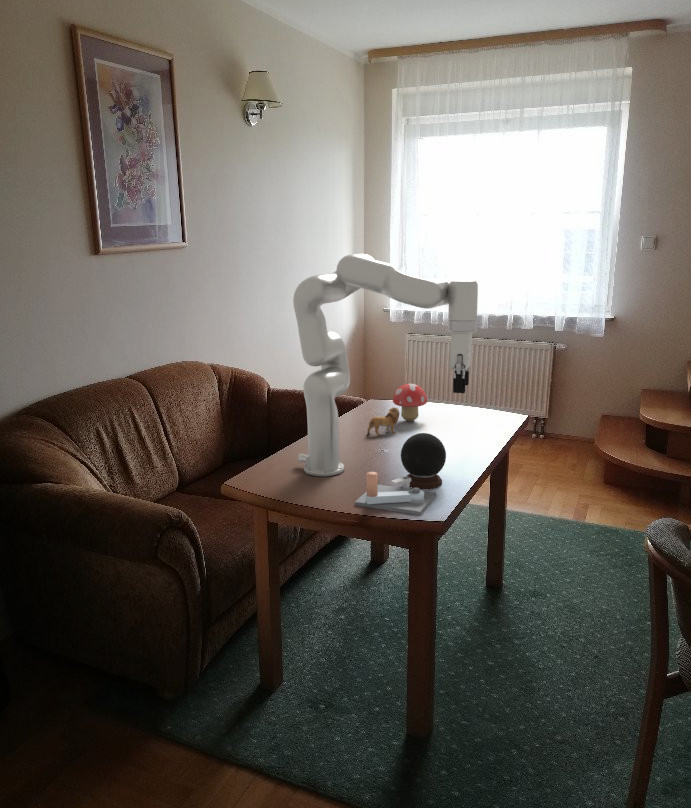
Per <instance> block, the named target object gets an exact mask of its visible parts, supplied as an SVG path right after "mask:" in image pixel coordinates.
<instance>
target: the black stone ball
mask: <svg viewBox="0 0 691 808" xmlns="http://www.w3.org/2000/svg"><path fill="white" fill-rule="evenodd" d="M400 459H401V460H400V461H401V464H402V466H403V468H404V469H405V471H406V472H407V473H408V474H407V475H406V476H407V477H410V478H411V482H410V487H412V488H420V490H421V489H428V490H434V488H435V489H438V488H440V487H441V486H442V485H443V480H442V478H441V476H440V475H439V473H440V472H441V471H442V470H443V467H444V466H445V464H446V460H447V451H446V449H445V445H444V444H443V442H442V440H441V439H439V438H438V437H437V436H435V435H433V434H431V433H428V432H427V433H426V432H420V433H415V434H412V435H411V436H410V437H409V438H407V439H406V440H405V442H403V445H402V448H401V451H400ZM439 486H440V487H439ZM437 487H438V488H437ZM412 488H411V489H412Z"/></svg>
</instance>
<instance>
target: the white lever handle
mask: <svg viewBox="0 0 691 808" xmlns="http://www.w3.org/2000/svg"><path fill="white" fill-rule="evenodd" d="M378 475H379V474H378V472H376V471H368V472H366V473H365V476H366V479H365V481H366V484H365V485H366V486H365V487H366V491H365V492H366V502H367V504H380V503H397V502H422V501H424V491H425V490H421V489H420V488H411V489H412V490H409V491H394V492H378V482H379V481H378Z"/></svg>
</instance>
